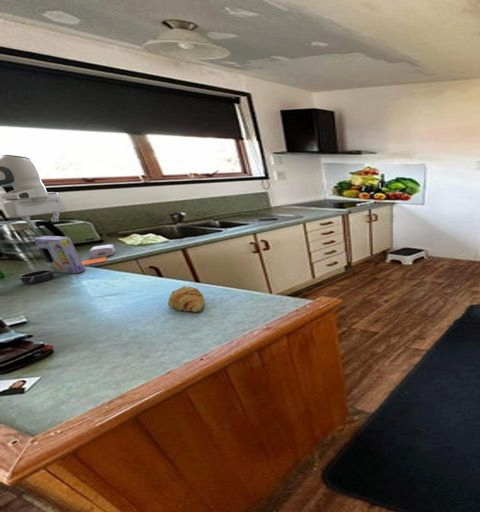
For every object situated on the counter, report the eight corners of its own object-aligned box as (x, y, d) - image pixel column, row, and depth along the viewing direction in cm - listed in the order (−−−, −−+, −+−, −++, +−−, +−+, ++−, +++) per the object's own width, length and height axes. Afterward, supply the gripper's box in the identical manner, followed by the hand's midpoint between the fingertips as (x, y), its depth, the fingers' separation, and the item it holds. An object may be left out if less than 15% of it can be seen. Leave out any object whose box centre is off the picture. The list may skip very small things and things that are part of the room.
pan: (21, 286, 117) (17, 279, 116) (25, 280, 124) (22, 273, 122) (52, 280, 123) (49, 273, 122) (55, 275, 129) (52, 268, 128)
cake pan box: (47, 271, 134) (31, 237, 128) (61, 268, 139) (46, 234, 133) (73, 275, 129) (58, 239, 123) (86, 271, 134) (72, 236, 128)
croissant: (211, 318, 96) (218, 296, 97) (179, 318, 88) (187, 294, 88) (185, 301, 107) (192, 282, 108) (155, 300, 99) (162, 279, 100)
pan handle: (29, 284, 114) (27, 281, 114) (32, 279, 119) (31, 276, 118) (33, 283, 115) (32, 280, 114) (36, 278, 120) (35, 276, 119)
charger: (116, 249, 169) (114, 254, 158) (96, 252, 164) (91, 258, 153) (114, 241, 168) (111, 247, 157) (93, 244, 162) (88, 250, 151)
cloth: (79, 266, 141) (79, 265, 141) (81, 261, 148) (80, 261, 148) (106, 261, 147) (106, 260, 147) (106, 257, 154) (106, 256, 154)
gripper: (51, 191, 132) (62, 219, 136) (-5, 195, 112) (10, 228, 117) (64, 191, 132) (74, 219, 136) (10, 195, 112) (25, 228, 117)
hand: (44, 223), depth 126 cm, fingers open, 8 cm apart
